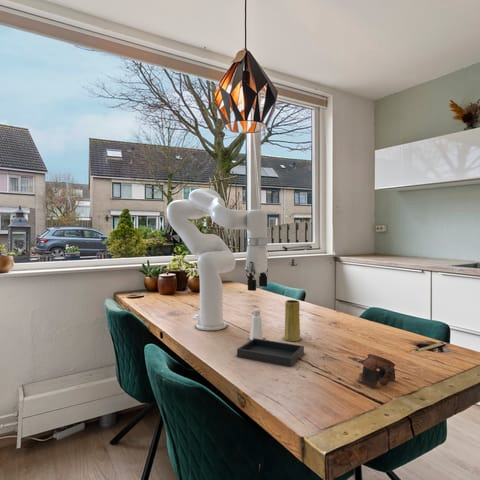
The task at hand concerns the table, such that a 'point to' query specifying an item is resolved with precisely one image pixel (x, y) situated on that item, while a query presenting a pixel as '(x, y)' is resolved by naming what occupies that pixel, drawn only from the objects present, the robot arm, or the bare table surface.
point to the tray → (271, 352)
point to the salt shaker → (256, 325)
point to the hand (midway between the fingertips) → (257, 288)
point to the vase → (292, 321)
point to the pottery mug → (374, 376)
